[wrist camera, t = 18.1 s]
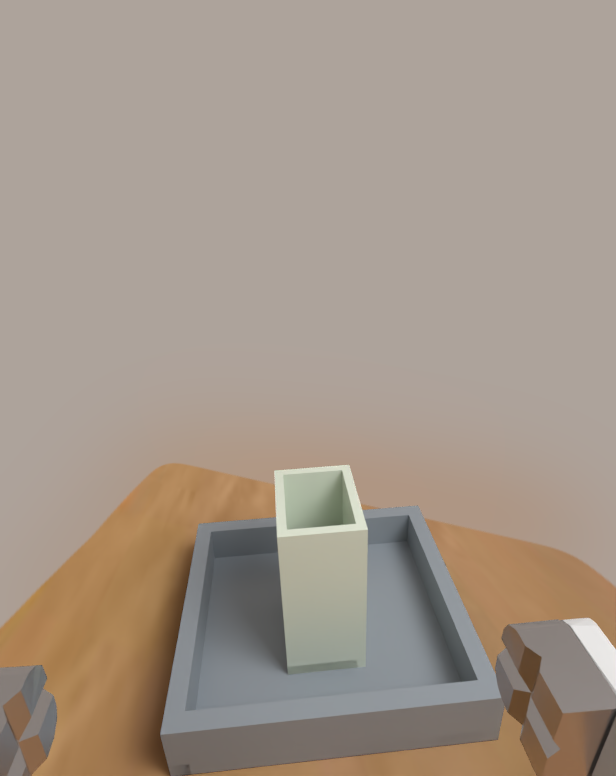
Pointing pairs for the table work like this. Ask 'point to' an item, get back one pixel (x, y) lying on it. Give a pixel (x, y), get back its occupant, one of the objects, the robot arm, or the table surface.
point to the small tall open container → (322, 568)
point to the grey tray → (323, 688)
